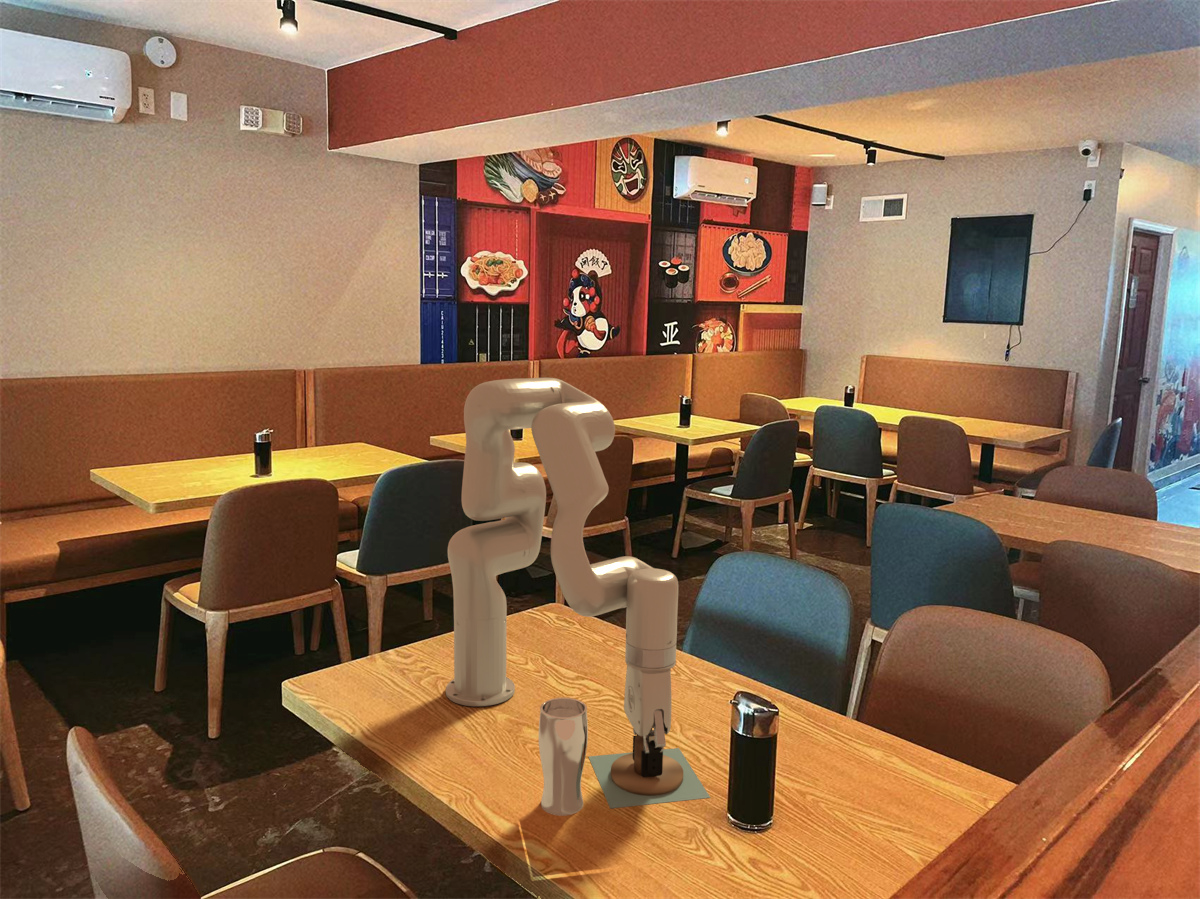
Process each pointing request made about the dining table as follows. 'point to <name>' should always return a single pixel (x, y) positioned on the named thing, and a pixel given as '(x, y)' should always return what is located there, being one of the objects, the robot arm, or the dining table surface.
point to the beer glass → (562, 754)
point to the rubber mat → (621, 798)
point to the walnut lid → (631, 780)
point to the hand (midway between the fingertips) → (647, 766)
